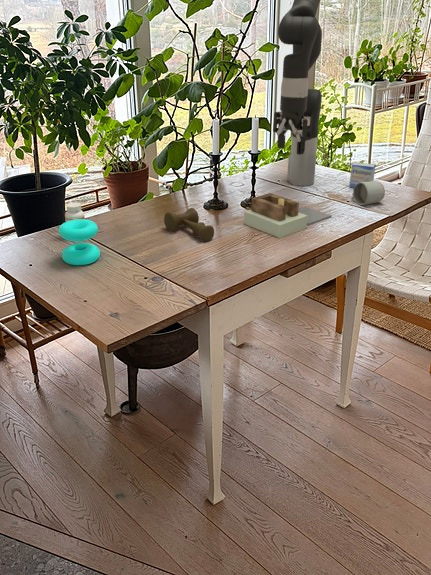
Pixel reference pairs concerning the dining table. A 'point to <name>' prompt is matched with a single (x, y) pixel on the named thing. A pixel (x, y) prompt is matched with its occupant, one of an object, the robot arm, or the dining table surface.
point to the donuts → (79, 251)
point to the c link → (274, 207)
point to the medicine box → (361, 173)
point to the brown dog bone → (189, 224)
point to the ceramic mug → (368, 192)
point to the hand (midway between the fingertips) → (290, 151)
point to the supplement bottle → (74, 212)
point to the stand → (276, 222)
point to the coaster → (313, 215)
